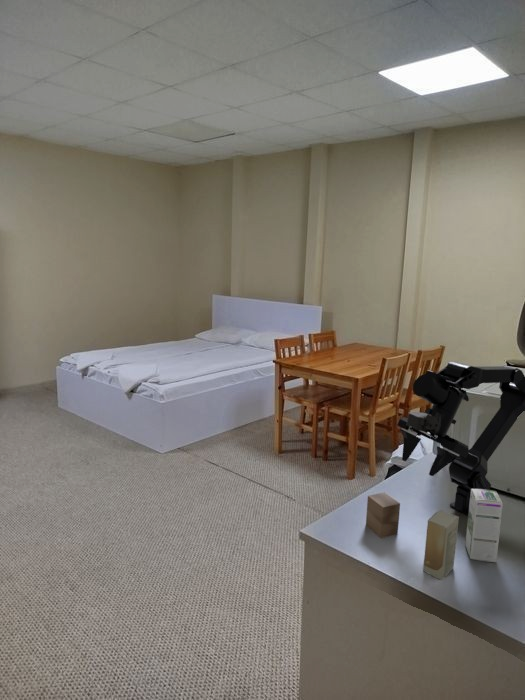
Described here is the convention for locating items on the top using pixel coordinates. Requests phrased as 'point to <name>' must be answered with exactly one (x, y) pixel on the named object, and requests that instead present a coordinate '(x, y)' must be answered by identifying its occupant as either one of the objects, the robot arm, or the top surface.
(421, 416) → the robot arm
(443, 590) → the top surface
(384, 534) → the walnut block
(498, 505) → the syrup box
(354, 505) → the top surface
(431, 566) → the skincare box
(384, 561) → the top surface
